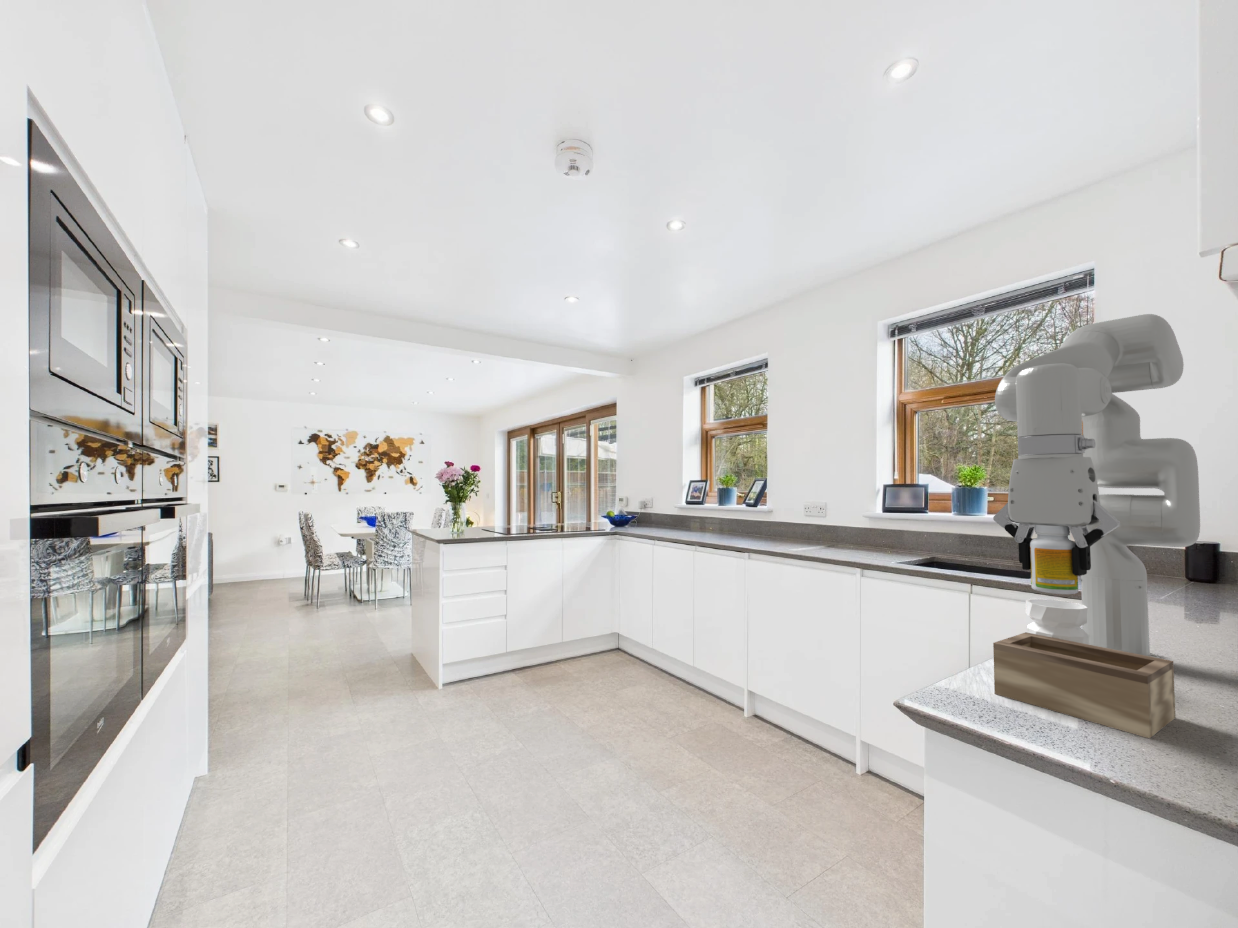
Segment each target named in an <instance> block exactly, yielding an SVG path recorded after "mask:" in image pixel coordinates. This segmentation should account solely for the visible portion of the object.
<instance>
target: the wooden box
mask: <svg viewBox="0 0 1238 928" xmlns="http://www.w3.org/2000/svg"><path fill="white" fill-rule="evenodd" d="M992 644H993V646H992V647H993V678H994V679H993V682H994V683H993V684H994V694H995V695H998V696H1001V697H1004V698H1008V699H1011V700H1015V701H1019V702H1022V703H1025V704H1030V705H1031V706H1036V707H1039V708H1042V709H1043V708H1044V709H1046V710H1050V711H1052V712H1057V713H1060V714H1063V715H1067V716H1070V717H1074V718H1077V719H1081V720H1084V721H1088V722H1090V723H1095V724H1097V725H1102V726H1105V727H1109V728H1112V729H1115V730H1120V731H1122V732H1126V733H1129V734H1134V735H1136V736H1139V737H1143V738H1146V739H1151V738H1152V737H1154V736H1155V735H1156V734H1157V733H1159V731H1161V730H1162V729H1164V728H1165V727H1166V726H1167V725H1168V724H1170V723H1171V722H1172V721H1173V720H1175V719H1176V699H1175V697H1176V695H1175V694H1176V693H1175V673H1174V672H1175V669H1174V660H1170V659H1165V658H1161V657H1160V658H1161V659H1160V658H1155V657H1150V656H1145V655H1140V654H1135V653H1129V652H1124V651H1119V650H1114V649H1109V648H1104V647H1099V646H1093V645H1088V644H1083V643H1078V642H1073V641H1068V640H1063V639H1057V638H1052V637H1047V636H1042V635H1037V634H1032V633H1027V631H1026V632H1022V633H1019V634H1017V635H1016V634H1015V635H1013V636H1010V637H1006V638H1004V639H1001V640H998V641H994V642H993V643H992Z"/></svg>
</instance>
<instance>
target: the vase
mask: <svg viewBox="0 0 1238 928" xmlns="http://www.w3.org/2000/svg"><path fill="white" fill-rule="evenodd" d="M1087 611H1088V608H1087V607H1086V606H1085V605H1082V603H1076V602H1074V601H1073V602H1072V601H1067V600H1059V599H1049V598H1048V599H1047V598H1046V599H1045V598H1028V599H1026V600H1025V615H1027V616H1028V617H1029V618H1030V619H1031V620H1033V621H1032V622H1030V623H1028V624H1027V626H1026V627H1027V628H1026V632H1027V633H1032V634H1037V635H1042V636H1047V637H1052V638H1057V639H1063V640H1068V641H1073V642H1078V643H1083V644H1088V645H1089V635H1088V634H1087V633H1086V632H1085V631H1084V630H1083V628H1081V627H1083V625H1084V624H1086V623H1087Z"/></svg>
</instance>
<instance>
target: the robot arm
mask: <svg viewBox="0 0 1238 928" xmlns="http://www.w3.org/2000/svg"><path fill="white" fill-rule="evenodd" d="M1184 365H1185V364H1184V357H1183V354H1182V351H1181V349H1180V346H1179V343H1178V340H1177V337H1176V335H1175V332H1174V329H1173V328H1172V326H1171V325H1170V323H1169V322H1168V321H1167V320H1166V319H1165V318H1164V317H1162V316H1160V315H1158V314H1152V313H1146V314H1139V315H1133V316H1127V317H1122V318H1117V319H1111V320H1110V319H1109V320H1104V321H1100V322H1094V323H1090V324H1086V325H1083V326H1081V327H1079V328H1077V329H1076V328H1075V330H1073V331H1072V332H1071V333H1070V334H1069V335H1068V336H1067V337H1066V338H1065V340H1064V341H1063V342H1062V343H1061V345H1060V346H1059V347H1058V348H1057V349H1054V350H1052V351H1049V352H1046V353H1043V354H1042V355H1039V356H1037V357H1034V358H1031V359H1029V360H1025V362H1022V363H1020V364H1018V365H1015V366H1014V367H1012V368H1011V369H1010V370H1008V371H1007V372H1006V374H1005V375H1004V376H1003V377H1002V378H1001V380H1000V381H999V383H998V386H997V388H996V390H995V395H994V406H995V409H996V411H997V413H998V414H999V416H1000V417H1002V418H1003V419H1004V420H1006V421H1009V422H1013V423H1014V422H1016V429H1017V431H1016V432H1017V455H1018V456H1017V458H1015V459H1013V461H1012V466H1011V470H1010V475H1009V483H1008V497H1007V503H1005V505H1004V506H1003V507H1002V508H1001V509H1000V510H999V511H998V512H997V513H996V514H995V515H993V521H994V522H995V523H997V524H998V525H999V526H1000V527H1001V528H1003V529H1004V530H1005V531H1006V533H1008V535H1010V536H1011V537H1012V538H1014V541H1015V542H1016V543H1017V544H1018V545H1017V546H1018V561H1019V563H1020V564H1021V565H1022V566H1021V569H1022V570H1024V571H1025V570H1026V571H1029V570H1030V571H1031V563H1030V542H1031V540H1033V535H1034V533H1035V525H1050V526H1068V527H1069V529H1070V534H1071V535H1072V538H1073V540H1074V542H1075V547H1073V548H1072V571H1073V574H1074V575H1076V576H1078V577H1080V584H1081V586H1080V588H1081V590H1080V591H1081V604H1082V605H1085V606H1086V607H1087V608H1088V611H1087V623H1086V624H1084V625H1082V629H1083V630H1084V631H1085V632H1086V633H1087V634H1088V635H1089V645H1093V646H1099V647H1104V648H1109V649H1114V650H1119V651H1124V652H1129V653H1135V654H1140V655H1145V656H1150V657H1155V658H1160V659H1162V657H1160V656H1158V655H1157V654H1154V653H1153V652H1151V651H1150V649H1151V648H1150V645H1151V644H1150V626H1149V625H1150V624H1149V623H1150V622H1149V600H1148V599H1149V595H1148V574H1147V573H1148V572H1147V569H1146V567H1145V564H1144V563H1143V561H1142V560H1141V559H1140V557H1138V556H1137V555H1136V554H1134V553H1133V552H1132V551H1131V550H1130V548H1128V546H1150V547H1151V546H1152V547H1164V548H1165V547H1167V548H1168V547H1170V548H1185V547H1186V548H1187V547H1190V546H1192V545H1194V544H1196V542H1197V541H1198V539H1199V537H1200V533H1201V511H1200V510H1201V507H1200V483H1199V466H1198V465H1199V464H1198V458H1197V455H1196V452H1195V450H1194V447H1193V446H1192V444H1190V443H1189V442H1188V441H1186V440H1185V439H1181V438H1174V437H1166V438H1164V437H1161V438H1160V437H1159V438H1142V436H1141V417H1140V414H1139V413H1138V412H1137V410H1136V409H1135V408H1133V407H1132V406H1131V405H1130V404H1129V403H1128V402H1126V401H1124V400H1123V399H1122V398H1120V397H1119V396H1117V395H1115V394H1116V393H1117V394H1118V393H1125V392H1136V391H1145V390H1146V391H1147V390H1155V389H1156V390H1157V389H1158V390H1159V389H1163V388H1168V387H1171V386H1173V385H1175V384H1176V383H1178V382H1179V381H1180V379H1181V378H1182V376H1183V372H1184V367H1185V366H1184ZM1099 488H1103V489H1157V490H1159V491H1162V492H1163V493H1164V494H1125V493H1123V494H1112V493H1111V494H1110V493H1107V494H1105V493H1104V494H1100V493H1099V491H1100V490H1099ZM1017 524H1019V525H1017Z"/></svg>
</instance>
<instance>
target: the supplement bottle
mask: <svg viewBox="0 0 1238 928" xmlns="http://www.w3.org/2000/svg"><path fill="white" fill-rule="evenodd" d="M1034 533H1035V535H1037V536H1036V538H1032V540H1031V542H1030V563H1031V569H1030V584H1031V586H1030V587H1031V589H1032V590H1034V591H1036V592H1042V593H1047V594H1054V595H1074V594H1078V593H1079V576H1076V575H1074V574H1073V571H1072V548H1073V547H1075V543H1076V542H1075V541H1073V540H1071V539H1069V536H1070V534H1071V531H1070V529H1069V527H1068V526H1050V525H1035V530H1034Z"/></svg>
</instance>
